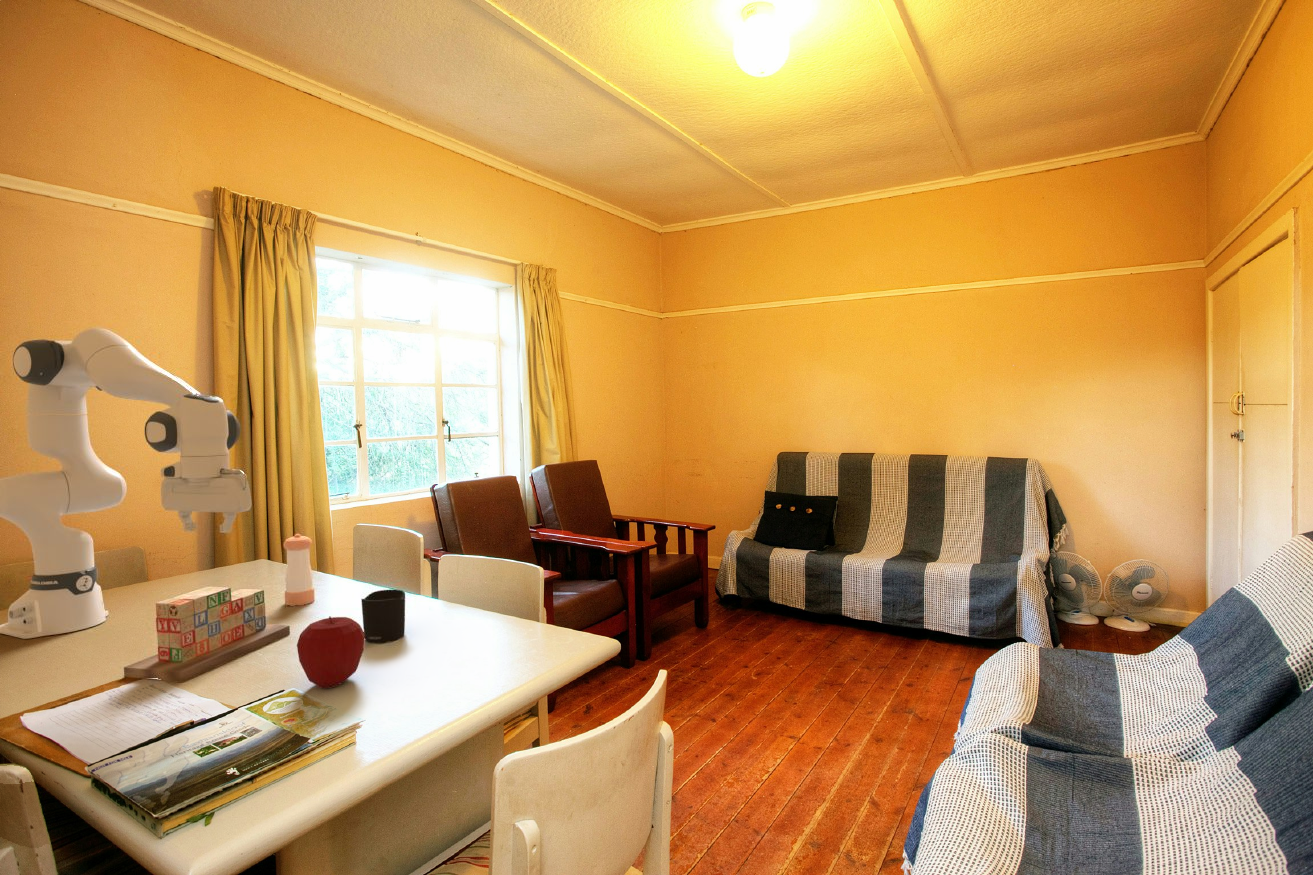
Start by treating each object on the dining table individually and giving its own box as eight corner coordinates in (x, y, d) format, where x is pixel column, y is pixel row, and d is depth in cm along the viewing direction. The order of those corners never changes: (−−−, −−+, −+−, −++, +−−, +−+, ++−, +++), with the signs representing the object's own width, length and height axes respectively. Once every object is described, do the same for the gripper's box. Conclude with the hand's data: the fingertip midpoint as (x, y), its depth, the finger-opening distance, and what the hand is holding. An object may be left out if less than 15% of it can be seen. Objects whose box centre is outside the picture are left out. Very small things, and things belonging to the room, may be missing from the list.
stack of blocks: (244, 626, 154) (242, 575, 154) (266, 628, 153) (264, 576, 153) (157, 661, 134) (154, 601, 133) (182, 663, 132) (179, 603, 132)
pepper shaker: (306, 596, 186) (304, 530, 185) (319, 601, 182) (317, 533, 181) (280, 603, 180) (277, 534, 179) (292, 607, 176) (290, 537, 175)
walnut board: (124, 676, 131) (123, 667, 131) (240, 630, 158) (239, 622, 158) (181, 682, 128) (181, 672, 128) (289, 633, 155) (289, 625, 155)
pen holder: (355, 637, 152) (354, 595, 151) (395, 627, 159) (393, 587, 158) (373, 647, 145) (372, 603, 145) (413, 636, 152) (412, 594, 152)
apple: (361, 691, 122) (358, 622, 122) (291, 700, 119) (289, 628, 118) (369, 667, 134) (367, 603, 133) (306, 675, 130) (304, 609, 130)
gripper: (257, 467, 142) (260, 530, 143) (180, 466, 147) (183, 527, 147) (233, 470, 136) (235, 536, 137) (153, 469, 141) (156, 532, 141)
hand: (207, 531), depth 142 cm, fingers open, 8 cm apart
